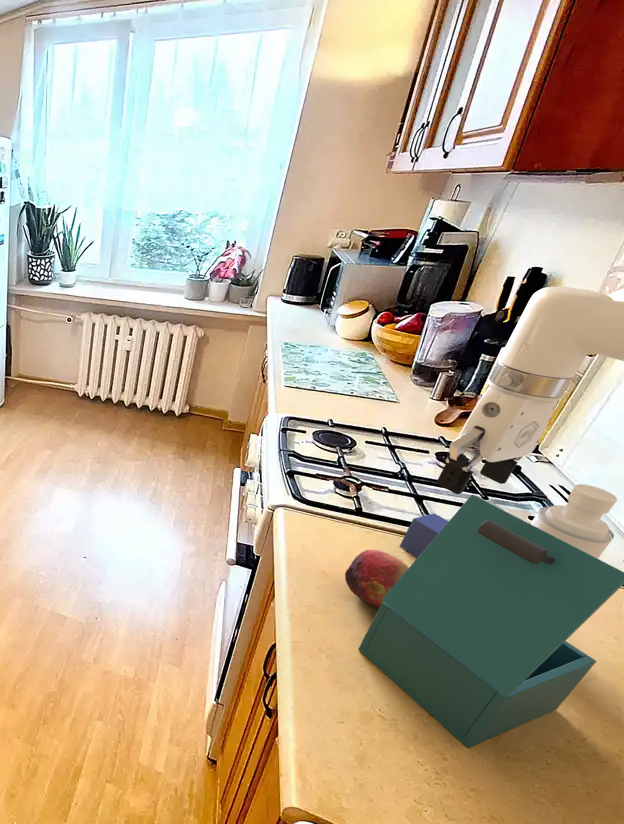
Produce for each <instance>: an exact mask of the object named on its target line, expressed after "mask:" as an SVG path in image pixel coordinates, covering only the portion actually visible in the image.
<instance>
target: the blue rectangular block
mask: <svg viewBox="0 0 624 824" xmlns="http://www.w3.org/2000/svg"><path fill="white" fill-rule="evenodd" d="M449 521H450V520H447V519H445V518H443V517H442V516H440V515H438V514H436V513H430V514H425V515H422V516H418V517H414V518H412V520H411V522H410V525H409V526H408V529H407V530H406V532H405V534H404V536H403V538H402V539H401V540H402V541H401V542H400V544H399V547H400V548H401V549H403V550H404V551H406V552H408V553H409V554H410V555H412V556H414V557H415V558H416V559H417V558H418V557H419V556H420V554H421V553H422V552H423V551H424V550H425V549H426V547H427V546H428V545H429V544H430V543H431V542H432V540H433V539H434V538H435V537H436V536H437V535H438V533H439V532H440V531H441V530H442V529H443V528H444V526H445V525H446V524H447V523H448V522H449Z"/></svg>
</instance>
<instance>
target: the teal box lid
mask: <svg viewBox="0 0 624 824" xmlns="http://www.w3.org/2000/svg"><path fill="white" fill-rule="evenodd" d="M448 521H449V522H448V523H447V524H446V525H445V526H444V528H443V529H442V530H441V531H440V532H439V533H438V535H437V536H436V537H435V538H434V539H433V540H432V542H431V543H430V544H429V545H428V546H427V547H426V549H425V550H424V551H423V552H422V553H421V554H420V556H419V557H418V558H417V557H416V559H415V560H414V561H413V562H412V564H411V565H410V566H408V570H407V571H406V572H405V573H404V574H403V575H402V577H401V578H400V579H399V580H398V581H397V582H396V584H395V585H394V586H393V587H392V588H391V589H390V591H389V592H388V593H387V594H386V595H385V596H384V598H383V599H382V600H383V601H384V602H386V603H387V604H388V605H389V606H391V607H392V608H393V609H395V610H396V611H397V612H399V613H400V614H401V615H402V616H404V617H405V618H406V619H408V620H409V621H410V622H411V623H413V624H414V625H415V626H417V627H418V628H419V629H420V630H422V631H423V632H424V633H426V634H427V635H428V636H430V637H431V638H432V639H433V640H435V641H436V642H437V643H439V644H440V645H441V646H442V647H444V648H445V649H446V650H448V651H449V652H450V653H451V654H453V655H454V656H455V657H457V658H458V659H459V660H460V661H462V662H463V663H464V664H466V665H467V666H468V667H470V668H471V669H472V670H473V671H475V672H476V673H477V674H479V675H480V676H481V677H482V678H484V679H485V680H486V681H488V682H489V683H490V684H491V685H493V686H494V687H495V688H497V689H498V690H499V691H501V692H502V693H503V694H504V695H506V696H509V695H510V694H511V693H512V692H513V691H514V690H515V689H516V688H517V687H518V686H519V685H520V684H521V683H523V682H524V681H525V680H526V679H527V678H528V677H529V676H530V675H531V674H532V673H533V672H534V671H535V670H536V669H537V668H538V667H539V666H540V665H541V664H542V663H543V662H544V661H545V660H546V659H547V658H548V657H549V656H550V655H551V654H552V653H553V652H554V651H555V650H556V649H558V648H559V647H560V646H561V645H562V644H563V643H564V642H565V641H566V642H567V640H568V639H569V638H570V637H571V636H572V635H573V634H574V633H575V632H577V630H578V629H579V628H580V627H581V626H582V625H583V624H585V622H587V620H589V619H590V617H592V616H593V615H594V614H595V613H596V612H597V611H598V610H599V609H600V608H601V607H603V605H604V604H605V603H607V602H608V600H609V599H610V598H612V596H613V595H614V594H615V593H616V592H617V591H619V589H620V588H622V586H624V571H623V570H621V569H619V568H616V567H615V566H613V565H611V564H609V563H607V562H606V561H603V560H601V559H600V558H598V559H597V558H595V557H593V556H591V555H590V554H588V553H586V552H584V551H582V550H580V549H578V548H576V547H574V546H572V545H570V544H568V543H566V542H564V541H562V540H560V539H558V538H556V537H555V536H553V535H551V534H549V533H547V532H545V531H543V530H541V529H539V528H537V527H535V526H533V525H531V523H529V522H527V521H525V520H523V519H521V518H520V517H517V516H516V515H514V514H512V513H510V512H508V511H506V510H504V509H502V508H500V507H498V506H496V505H495V504H492V503H491V502H488V501H486V500H485V499H483V498H480V497H479V496H477V495H475V494H471V495H470V496H469V497H468V498H467V499H466V500H465V502H464V503H463V504H462V505H461V506H460V508H459V509H458V510H457V511H456V513H455V514H454V515H453V516H452V517H451V518H450V519H449V520H448Z"/></svg>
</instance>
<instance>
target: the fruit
mask: <svg viewBox="0 0 624 824" xmlns="http://www.w3.org/2000/svg"><path fill="white" fill-rule="evenodd" d="M408 568H409V565H407V564H406V563H405V562H404V561H403V560H402V559H400V558H399V557H396V556H395V555H393V554H390V553H389V552H385V550H384V551H383V550H380V549H367V550H365V551H361V552H360V553H359V554H358V555H356V556H355V558H354V559H353V560H352V561H351V563H350V565H349V566H348V568H347V569H346V570H345V573H344V579H345V583H346V585H347V586H348V588H349V590H350V591H351V592H352V593H353V594H354V595H355V596H357V598H359V599H360V600H362V601H364V602H365V603H367V604H370V605H371V606H375V607H378V608H380V606H381V604H382V602H384V601H383V600H382V599H383V598H384V596H385V595H386V594H387V593H388V592H389V591H390V589H391V588H392V587H393V586H394V585H395V584H396V582H397V581H398V580H399V579H400V578H401V577H402V575H403V574H404V573H405V572H406V571H407V570H408Z"/></svg>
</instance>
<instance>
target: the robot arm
mask: <svg viewBox="0 0 624 824" xmlns="http://www.w3.org/2000/svg"><path fill="white" fill-rule="evenodd" d="M515 325H516V326H515V328H514V329H513V331H512V333H511V335H510V337H509V339H508V341H507V343H506V345H505V347H504V348H503V350H502V353H501V354H500V356H499V358H498V360H497V362H496V364H495V365H494V368H493V370H492V372H491V373H490V375H489V377H488V379H487V381H486V383H487V385H488V387H487V389H486V390H485V391H484V393H483V395H482V396H481V397H480V399H479V400H478V402H477V403H476V404H475V406H474V408H473V410H472V412H471V413H470V414H469V417H468V418H467V420H466V422H465V423H464V425H463V427H462V429H461V431H460V433H459V435H458V437H457V438H456V439H454V440H452V441H451V442H450V444H449V449H448V451H447V457H446V459H445V465H444V466H443V469H442V470H441V473H440V474H439V476H438V479H437V480H436V484H437V485H438V486H439V487H442V488H444V489H446V490H447V491H450V492H451V493H454V494H455V495H462V493H463V492H464V491H465V488H466V486H467V485H468V483H469V481H470V479H471V477H472V476H473V474H474V471H473V470H472V469H473V468H475V467H476V465H478V464H479V463H480V462H481V461H482V460H483V459H485V463H484V464H483V466H482V468H481V470H480V471H479V474H480V475H482V476H483V477H486V478H487V479H490V480H492V481H494V482H496V483H498V484H500V485H503V484H506V483H507V481H508V480H509V478H510V476H511V475H512V474H513V472H514V470H515V468H516V466H517V465H518V463H519V461H520V460H521V459H523V457H525V456H528V455H530V454H531V453H533V452H534V450H535V449H536V447H537V445H538V444H539V441H540V440H541V438H542V436H543V434H544V433H545V431H546V428H547V426H548V425H549V424H550V423H549V422H550V421H551V419H552V416H553V415H554V413H555V410H556V407H557V405H558V402H559V401H561V399H562V398H563V396H564V394H565V392H566V391H567V389H568V387H569V386H570V384H571V382H572V381H573V379H574V377H575V376H576V374H577V372H578V371H579V369H580V367H581V366H582V364H583V363H584V361H585V359H586V357H588V355H589V353H590V354H591V353H592V354H595V355H598V356H602V357H607V358H611V359H614V360H618V361H622V362H624V288H621V289H618V290H616V291H614V292H612V293H609V294H605V293H602V292H599V291H594V290H590V289H584V288H576V287H568V286H548V287H547V286H546V287H543V288H540V289H539V290H537V291H536V292H534V293H533V294H532V296H531V297H530V298H529V300H528V302H527V304H526V306H525V308H524V310H523V312H522V314H521V316H520V318H519V319H518V321H517V324H515ZM476 449H477V450H476ZM465 453H466V454H467V455H470V456H472V457H471V458H470V459H469V460H468V458H467V455H466V454H465Z"/></svg>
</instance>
